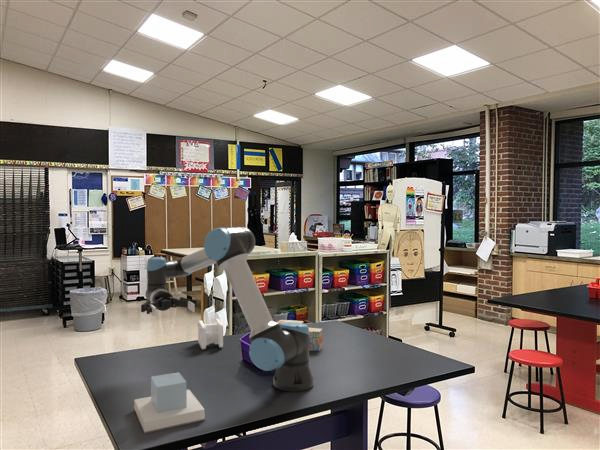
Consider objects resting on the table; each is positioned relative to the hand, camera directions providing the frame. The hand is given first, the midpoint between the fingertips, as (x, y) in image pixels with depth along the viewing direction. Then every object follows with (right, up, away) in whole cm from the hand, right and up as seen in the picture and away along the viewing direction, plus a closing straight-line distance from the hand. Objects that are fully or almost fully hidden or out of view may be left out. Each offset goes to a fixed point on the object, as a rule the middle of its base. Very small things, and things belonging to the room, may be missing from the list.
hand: (174, 310), depth 163 cm
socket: (+3, -31, -16) cm, 35 cm away
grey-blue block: (+2, -30, -16) cm, 34 cm away
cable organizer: (+1, -28, +58) cm, 65 cm away
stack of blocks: (+44, -29, +56) cm, 77 cm away
